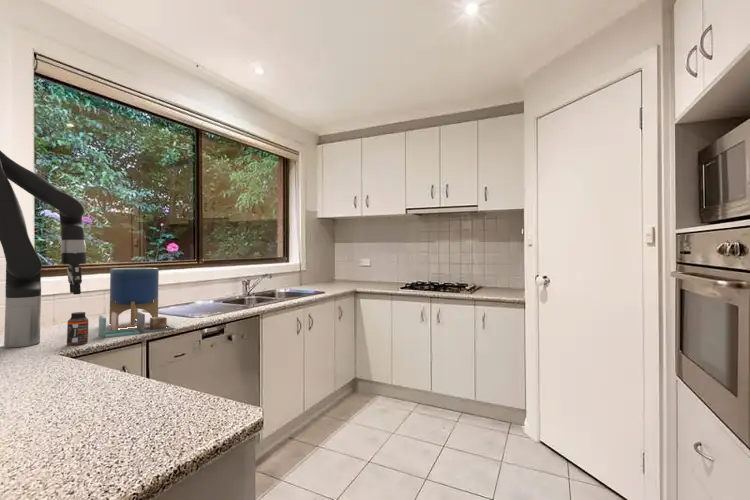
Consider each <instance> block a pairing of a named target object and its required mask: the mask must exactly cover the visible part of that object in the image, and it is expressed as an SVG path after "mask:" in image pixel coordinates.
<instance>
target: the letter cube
mask: <svg viewBox="0 0 750 500" xmlns="http://www.w3.org/2000/svg"><path fill="white" fill-rule="evenodd" d="M167 318H168V317H167V316H166V317H165V316H158V317H153V318H152V317H150V319H149V327H150V330H155V329H163V328H166V325H167V320H168V319H167Z"/></svg>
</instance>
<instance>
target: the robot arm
mask: <svg viewBox="0 0 750 500" xmlns="http://www.w3.org/2000/svg"><path fill="white" fill-rule="evenodd" d="M10 181H11V182H12V183H14V184H15V185H16V186H18V187H20V189H22V190H24V191H25V192H27V193H28V194H30V195H32V196H33V197H34V198H36V199H38V200H39V201H40V202H43V204H47V205H49V206H51V207H53V208H54V209H56V210H57V211H58V214H59V221H60V226H61V227H60V238H61V242H60V260H61V263H60V264H62V265H69V266H68V267H67V270H66V272H67V282H68V283H69V293H70V294H73V295H80V294H81V293H82V291H81V290H82V287H81V284H82V282H83V280H82V278H83V275H82V272H83V270H82V266H80V265H82V264H83V265H84V264H87V246H86V241H85V239H86V238H85V237H86V236H85V228H84V226H83V215H84V214H85V211H86V209H85V206H84V204H83V203H82V202H80V201H79V200H78V199H76V198H75V197H73V196H71V195H70V194H68V193H67V192H65V191H63V190H61V189H59V188H57V186H56V185H54V184H52V183H51V182H49V181H48V180H47V179H46V178H43V177H42V176H40V175H38V174H37V173H35V172H33V171H32V170H29V169H28V168H26V167H24V166H22V165H20V164H18V163H17V162H15V161H14V160H13V159H11V158H10V157H9V156H7V154H5V153H4V152H2V150H0V244H1V247H2V250H3V254H4V258H5V304H4V306H5V309H4V333H3V334H4V336H3V337H4V341H3V349H9V348H21V347H22V348H23V347H28V346H34V345H38V344H40V342H41V317H42V316H41V311H42V309H41V308H42V305H41V304H42V282H41V281H42V276H41V275H42V268H43V262H42V259H41V258H40V256H39V254H38V252H37V251H36V249H35V247H34V246H33V244H32V242H31V238H30V236H29V233H28V229H27V224H26V223H27V222H26V219H25V217H24V213H23V210H22V207H21V204H20V201H19V200H18V197H17V194H16V192H15V190H14V188H13V186H12V184H11V182H10Z"/></svg>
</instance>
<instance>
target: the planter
mask: <svg viewBox="0 0 750 500" xmlns="http://www.w3.org/2000/svg"><path fill="white" fill-rule="evenodd" d="M159 269H160V268H158V267H125V268H124V267H123V268H122V267H121V268H118V267H117V268H110V270H109V271H110V273H109V274H110V275H109V281H110V282H109V324H111V318H112V312H113V311H114V312H116V313H118V314H119V316H120V315H121V314H122V313H123V312H124V313H125V311H128V310H130V325H136V324H135V322H136V321H135V319H137V312H139V309H140V310H144V311H146V312H147V313H149V314H150V316H151V318H153V317H159V279H160V278H159V276H160V275H159V274H160V273H159ZM109 324H108V325H109Z"/></svg>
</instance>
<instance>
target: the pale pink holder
mask: <svg viewBox="0 0 750 500" xmlns="http://www.w3.org/2000/svg"><path fill="white" fill-rule="evenodd" d="M119 316H120V315H119V314H118V313H116V312H114V311H113V312H112V318H111V327H110V330H111V331H119V330H118V328H127V327H135V326H137V324H135V325H131V324H130V325H129V324H128V325H122V326H121V325H120V326H119ZM145 327H150V325H147V324H145ZM128 329H135V330H137V328H128ZM120 330H127V329H120Z"/></svg>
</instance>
